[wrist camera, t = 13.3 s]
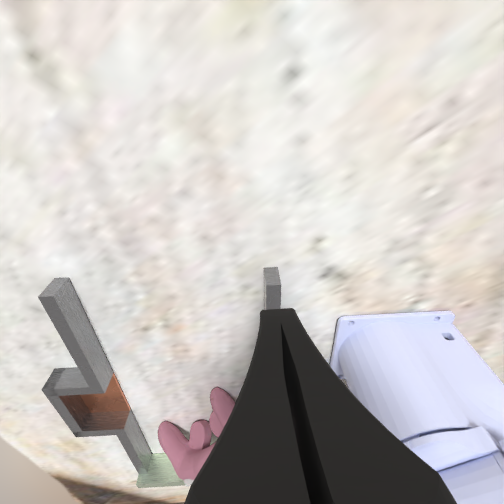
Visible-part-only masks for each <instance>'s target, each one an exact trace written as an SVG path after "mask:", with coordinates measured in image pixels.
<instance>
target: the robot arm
mask: <svg viewBox="0 0 504 504" xmlns="http://www.w3.org/2000/svg"><path fill="white" fill-rule="evenodd" d="M454 318H455V315H454V313H453V312H452V311H433V312H414V313H394V314H375V315H356V316H342V317H340V318H339V319H338V323H337V328H336V334H335V340H334V345H333V351H332V357H331V362H330V366H329V364H328V363H327V362H326V360H325V359H324V358H323V356H322V355H321V353H320V352H319V351H318V349H317V348H316V346H315V345H314V343H313V342H312V340H311V339H310V337H309V335H308V334H307V332H306V330H305V329H304V327H303V325H302V323H301V322H300V320H299V318H298V316H297V314H296V312H295V310H294V309H293V308H288V309H268V310H262V311H261V312H260V327H259V333H258V338H257V342H256V346H255V350H254V354H253V357H252V361H251V364H250V367H249V370H248V373H247V376H246V379H245V381H244V384H243V386H242V389H241V391H240V394H239V396H238V399H237V401H236V403H235V405H234V407H233V410H232V412H231V414H230V416H229V418H228V420H227V422H226V424H225V426H224V428H223V430H222V432H221V434H220V436H219V438H218V440H217V441H216V443H215V445H214V447H213V449H212V451H211V453H210V454H209V456H208V458H207V459H206V461H205V463H204V464H203V466H202V468H201V469H200V471H199V473H198V474H197V476H196V478H195V479H194V481H193V483H192V485H191V487H190V490H189V493H188V495H187V498H186V501H185V503H184V504H504V384H503V383H502V381H501V380H500V379H499V378H498V377H497V375H496V374H495V373H494V372H493V371H492V370H491V368H490V367H489V366H488V365H487V364H486V362H485V361H484V360H483V359H482V358H481V356H480V355H479V354H478V353H477V352H476V351H475V349H474V348H473V347H472V346H471V345H470V343H469V342H468V341H467V340H466V339H465V338H464V336H463V335H462V334H461V333H460V332H459V330H458V329H457V328H456V327H455V326H454V324H453V323H452V322H453V320H454ZM350 321H351V322H350ZM340 379H346V382H347V385H348V388H349V389H348V388H347V387H346V385H345V384H344V383H343V382H342V381H341V380H340Z"/></svg>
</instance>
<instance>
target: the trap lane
mask: <svg viewBox="0 0 504 504" xmlns="http://www.w3.org/2000/svg"><path fill="white" fill-rule="evenodd" d="M38 298H39V300H40V301H41V303H42V305H43V307H44V308H45V310H46V312H47V314H48V315H49V317H50V319H51V321H52V322H53V324H54V326H55V328H56V329H57V331H58V333H59V335H60V336H61V338H62V340H63V342H64V343H65V345H66V347H67V349H68V350H69V352H70V354H71V356H72V358H73V359H74V361H75V363H76V365H77V366H78V368H62V369H54V371H53V372H52V374H51V375H50V377H49V379H48V380H47V382H46V383H45V385H44V387H43V388H42V391H43V392H44V394H45V395H46V397H47V398H48V399H49V401H50V402H51V403H52V405H53V406H54V408H55V409H56V410H57V412H58V413H59V414H60V416H61V417H62V419H63V420H64V421H65V423H66V424H67V425H68V427H69V428H70V430H71V431H72V432H73V434H74V435H75V436H76V437H88V436H106V435H117V436H118V438H119V440H120V442H121V444H122V445H123V447H124V449H125V451H126V452H127V454H128V456H129V458H130V459H131V461H132V463H133V465H134V466H135V468H136V470H137V472H138V473H139V475H138V479H137V483H136V485H137V487H138V488H147V487H164V486H180V485H185V484H184V480H182V479H180V478H179V477H178V476H177V474H176V472H175V470H174V467H173V465H172V463H171V461H170V460H169V458H168V457H167V455H166V453H160V454H152V453H151V451H150V449H149V447H148V445H147V442H146V440H145V438H144V436H143V434H142V432H141V430H140V428H139V426H138V423H137V421H136V419H135V417H134V415H133V413H132V411H131V409H130V406H129V404H128V402H127V400H126V398H125V396H124V394H123V392H122V390H121V387H120V385H119V383H118V381H117V379H116V377H115V375H114V373H113V370H112V368H111V366H110V364H109V362H108V360H107V358H106V356H105V354H104V351H103V349H102V347H101V345H100V343H99V341H98V339H97V337H96V334H95V332H94V330H93V328H92V326H91V324H90V322H89V320H88V318H87V315H86V313H85V311H84V309H83V307H82V305H81V303H80V301H79V298H78V296H77V294H76V292H75V290H74V288H73V286H72V284H71V282H70V279H69V278H54V280H53V281H52V282H51V283H50V284H49V285H48V286H47V287H46V289H45V290H44V291H43V292H42V293H41V294H40V295H39V296H38ZM280 305H281V282H280V277H279V272H278V267H275V268H264V310H268V309H280ZM191 485H192V484H191Z"/></svg>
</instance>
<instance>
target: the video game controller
mask: <svg viewBox="0 0 504 504" xmlns="http://www.w3.org/2000/svg"><path fill="white" fill-rule="evenodd" d="M210 401H211V405H212V409H213V412H212V413H211V415H210V419H209V423H210V425H209V423H208V422H207V421H206V420H200V421H197V422H195V423H193V424H192V426H191V430H190V440H188V439H187V438H186V437H185V436H184V435H183V434H182V433H181V431H180V430H179V429H178V428H177V427H176V426H174V425H173V424H172V423H170V422H168V421H164V422H162V423H161V424H160V426H159V429H158V439H159V442H160V445H161V447H162V448H163V450H164V452H165V453H166V455H167V457H168V458H169V460H170V461H171V463H172V465H173V467H174V470H175V472H176V474H177V476H178V477H179V478H180V479H182V480H184V484H185V485H186V486H190V485H191V484H192V483H193V481H194V479H195V478H196V476H197V474H198V473H199V471H200V469H201V468H202V466H203V464H204V463H205V461H206V459H207V458H208V456H209V454H210V453H211V451H212V449H213V447H214V445H215V443H216V442H215V443H213V444H212V445H210V441H211V430H212V432H213V434H214V435H216V436H217V437H218V438H219V436H220V434H221V432H222V430H223V428H224V426H225V424H226V422H227V420H228V418H229V416H230V414H231V412H232V410H233V407H234V405H235V402H234V401H233V399H232V398H231V397H230V396H229V395H228V393H227V392H225V391H224V390H223V389H220V388H218V387H216V388H214V389H213V390H212V391H211V394H210Z"/></svg>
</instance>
